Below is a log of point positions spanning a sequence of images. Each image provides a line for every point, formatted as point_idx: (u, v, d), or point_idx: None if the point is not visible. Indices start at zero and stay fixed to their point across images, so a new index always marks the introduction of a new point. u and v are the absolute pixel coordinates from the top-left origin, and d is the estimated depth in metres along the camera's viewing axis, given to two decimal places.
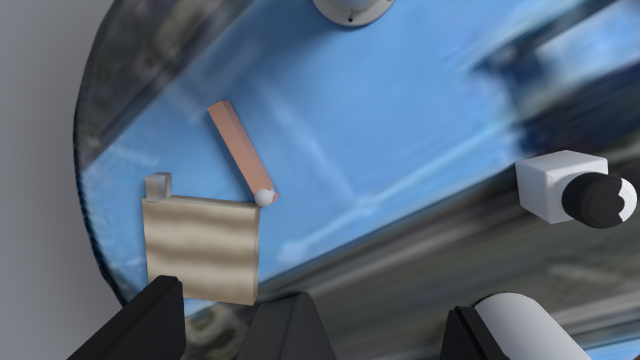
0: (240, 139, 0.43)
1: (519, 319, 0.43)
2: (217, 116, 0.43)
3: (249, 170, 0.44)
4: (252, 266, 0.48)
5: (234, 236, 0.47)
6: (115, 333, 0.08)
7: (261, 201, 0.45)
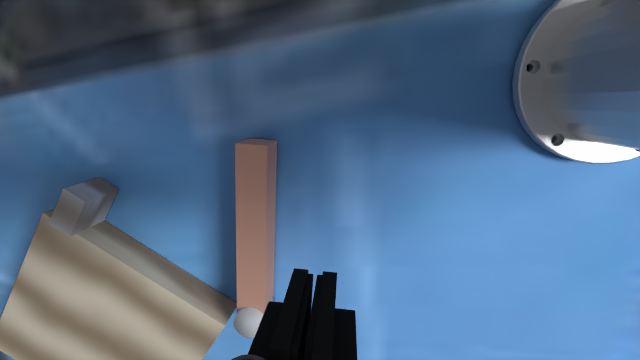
0: (264, 222, 0.23)
1: None
2: (245, 166, 0.22)
3: (251, 273, 0.24)
4: None
5: (171, 342, 0.27)
6: (294, 319, 0.09)
7: (243, 327, 0.25)
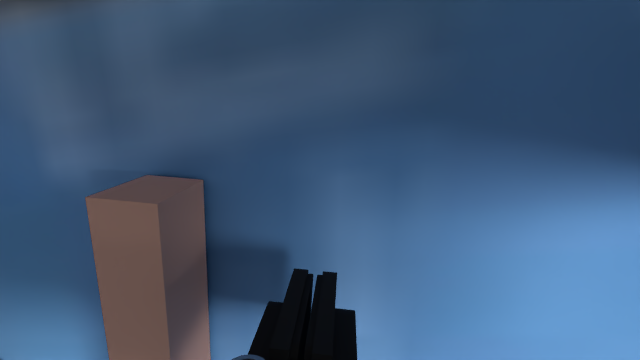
0: (165, 359, 0.11)
1: None
2: (114, 247, 0.10)
3: None
4: None
5: None
6: (294, 318, 0.09)
7: None
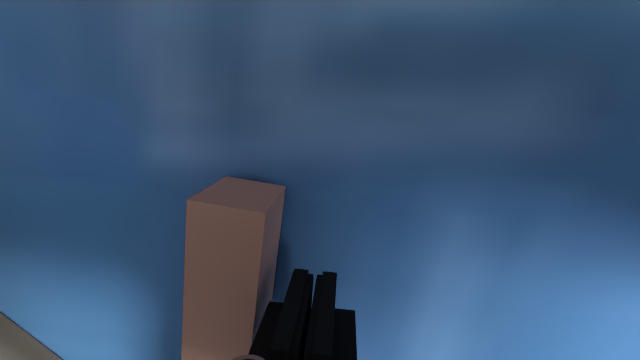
0: None
1: None
2: (209, 253, 0.09)
3: None
4: None
5: None
6: (294, 318, 0.09)
7: None
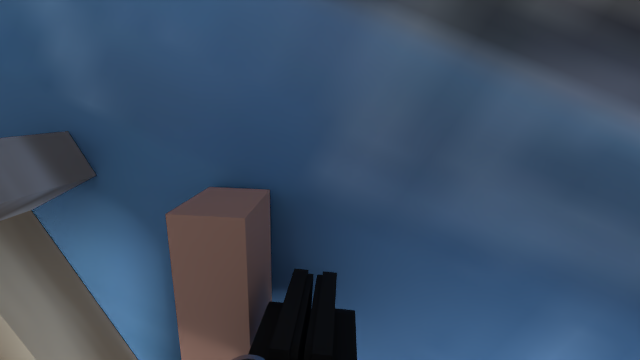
0: None
1: None
2: (195, 265, 0.09)
3: None
4: None
5: None
6: (295, 319, 0.09)
7: None
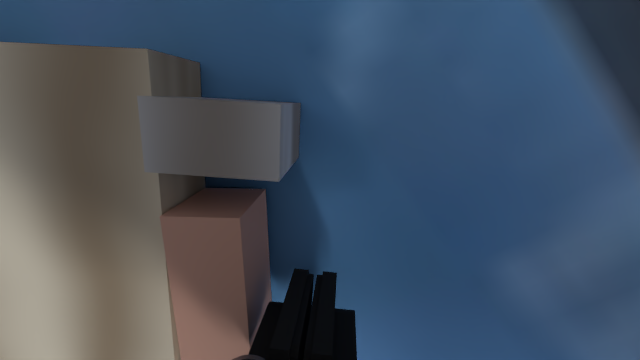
0: None
1: None
2: (192, 267, 0.09)
3: None
4: None
5: None
6: (295, 319, 0.09)
7: None
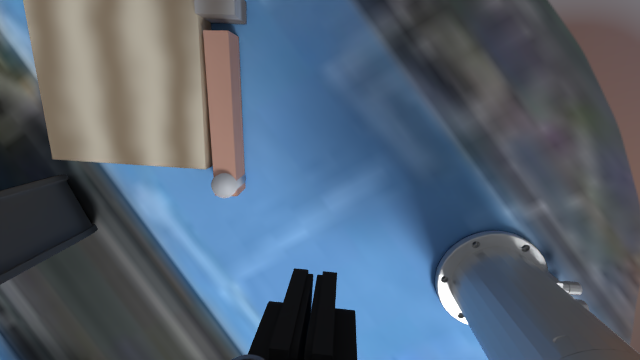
0: (230, 97, 0.30)
1: None
2: (212, 49, 0.29)
3: (222, 142, 0.31)
4: (116, 161, 0.32)
5: (159, 136, 0.31)
6: (294, 319, 0.09)
7: (219, 188, 0.32)
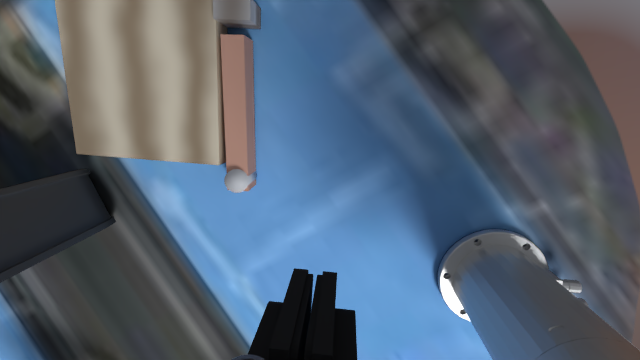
0: (244, 97, 0.31)
1: None
2: (228, 52, 0.30)
3: (236, 139, 0.33)
4: (136, 157, 0.34)
5: (177, 133, 0.33)
6: (294, 318, 0.09)
7: (232, 183, 0.33)
